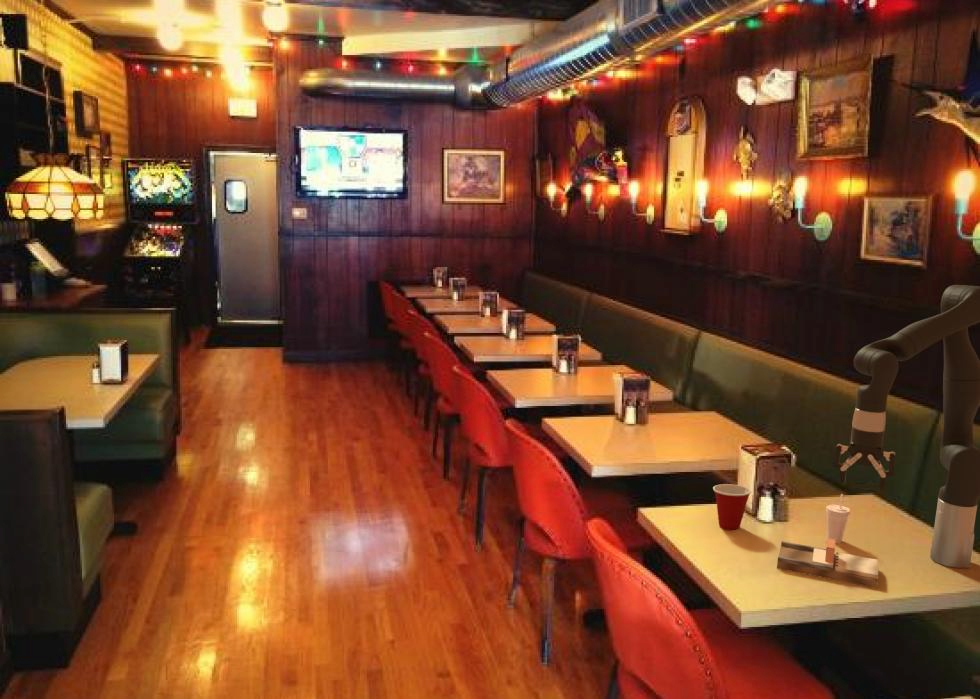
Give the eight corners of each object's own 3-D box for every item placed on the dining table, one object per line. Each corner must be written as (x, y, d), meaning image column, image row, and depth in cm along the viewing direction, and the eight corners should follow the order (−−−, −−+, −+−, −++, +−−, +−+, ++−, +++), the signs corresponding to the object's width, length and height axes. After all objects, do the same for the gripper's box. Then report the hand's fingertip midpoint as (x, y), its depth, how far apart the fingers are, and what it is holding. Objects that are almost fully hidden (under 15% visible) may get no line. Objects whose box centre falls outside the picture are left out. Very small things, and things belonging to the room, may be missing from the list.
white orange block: (833, 555, 221) (835, 537, 220) (832, 568, 213) (834, 550, 212) (813, 551, 223) (815, 534, 222) (812, 564, 215) (814, 546, 214)
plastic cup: (731, 517, 251) (735, 479, 249) (755, 531, 241) (759, 492, 239) (702, 521, 247) (705, 483, 245) (725, 536, 237) (728, 496, 235)
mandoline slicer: (875, 568, 219) (877, 557, 218) (876, 587, 208) (878, 576, 208) (780, 550, 228) (781, 540, 228) (776, 568, 217) (777, 557, 217)
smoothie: (843, 547, 232) (848, 499, 230) (819, 540, 236) (824, 494, 233) (849, 539, 237) (854, 493, 235) (826, 533, 241) (831, 488, 238)
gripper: (899, 427, 210) (892, 487, 213) (839, 419, 216) (832, 478, 219) (899, 434, 203) (891, 497, 206) (837, 425, 209) (830, 486, 212)
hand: (861, 487), depth 212 cm, fingers open, 8 cm apart
